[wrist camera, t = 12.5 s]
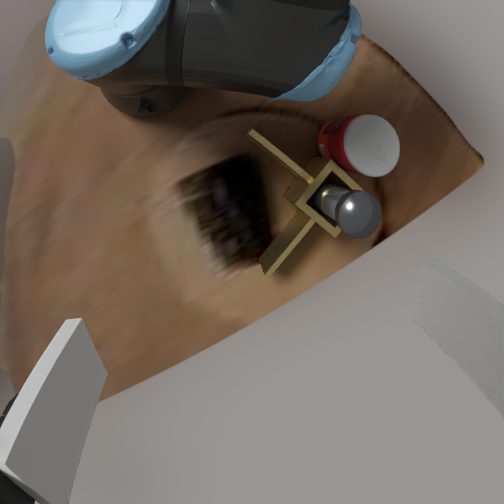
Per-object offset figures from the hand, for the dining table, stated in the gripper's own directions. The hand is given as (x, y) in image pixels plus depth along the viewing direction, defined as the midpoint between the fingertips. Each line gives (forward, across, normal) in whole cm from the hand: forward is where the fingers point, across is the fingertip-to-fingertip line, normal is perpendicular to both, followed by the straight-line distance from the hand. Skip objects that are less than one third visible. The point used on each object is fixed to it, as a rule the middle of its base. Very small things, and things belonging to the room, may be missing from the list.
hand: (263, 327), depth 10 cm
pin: (+35, +13, -2) cm, 37 cm away
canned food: (+35, +18, +5) cm, 39 cm away
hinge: (+35, +6, -2) cm, 35 cm away
